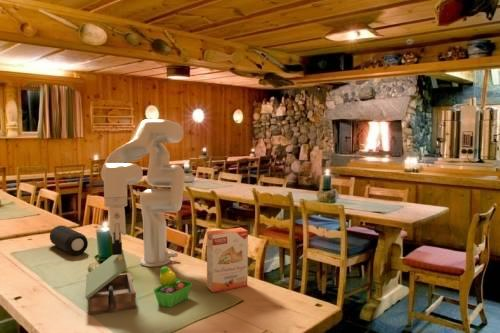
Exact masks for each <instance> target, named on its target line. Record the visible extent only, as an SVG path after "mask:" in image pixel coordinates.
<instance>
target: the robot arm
mask: <svg viewBox="0 0 500 333" xmlns="http://www.w3.org/2000/svg"><path fill="white" fill-rule="evenodd" d="M183 138H184V129H183V127H182V125H181V124H180V123H179V122H176V121H172V120H169V119H144V120H143V119H142V121H140V122H139V123H138V125H137V126H136V129H135V130H134V132H133V134H132V135H131V137H130V140H129V141H128V142H126V143H125V144H122V145H121V146H119V147H118V148H116V149H114V150H113V151H112V152H111V153H110V154H109V155H108V156H107V158H106V159H105V161H104V163H103V165H102V168H101V171H100V176H101V179H102V181H103V195H104V196H103V198H104V201H103V203H104V207H105V208H107V209H108V210H107V212H108V214H107V215H108V226H109V233H110V236H111V237H112V242H111V254H112V255H120V254H122V250H123V243H122V235H123V236H126V234H127V233H126V209H125V207H127V206H128V185H137V184H138V183H139V182H141V181H142V179H143V174H144V173H143V172H144V171H143V169H142V168H141V166H140V165H138V164H137V163H130V162H133V161H137V160H140V159H143V158H145V157H147V156H148V155H149V160H148V161H149V162H148V168H147V174H146V175H147V176H146V180H147V184H148V185H150V186H152V187H158V188H150V189H149V188H148V189H145V190H143V191H142V192H141V194H140V196H139V203H140V209H141V214H142V225H143V226H142V228H143V230H142V233H143V235H142V236H143V257H142V258H141V259H140V260H139V263H140V265H142V266H144V267H164V266H166V265H168V264H169V263H170V262H171V258H177V257H179V253H178V251H175V252H174V251H168V250H167V249H168V248H167V221H166V218H165V216H164V215H163V213H177V212H179V211H180V210H181V208H182V206H183V205H182V204H183V197H184V190H185V181H186V180H185V178H186V176H185V175H186V174H185V170H184V168H183V167H182V166H181V165H178V164H170V160H171V159H170V158H171V154H170V151H169V150H168V149H167V147H166V146H165V145H164V144H177V143H180V142H181V141H182V140H183ZM159 187H161V188H159ZM163 188H164V189H163ZM167 188H168V189H167ZM169 188H170V189H169ZM112 255H111V256H112Z"/></svg>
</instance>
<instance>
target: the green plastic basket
mask: <svg viewBox="0 0 500 333" xmlns="http://www.w3.org/2000/svg"><path fill="white" fill-rule="evenodd" d="M159 275H160V276H159V283H160V286H158V287H156V288H154V289H153V293H154V295H155V298H156V301H157V303H158V305H161V306H163V307H166V308H167V307H168V308H171V307H173V306H175V305H177V304H179V303H180V302H182V301H184V300H187V299H188V298H189V294H190V291H191V287H192V285H193V283H192V282H190V281H184V280H182V279H177V275H176V273H175V272H174V271H173V270H172V269H171V268H170V267H168V266H162V267H161V268H160V272H159Z"/></svg>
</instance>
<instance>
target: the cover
mask: <svg viewBox="0 0 500 333" xmlns="http://www.w3.org/2000/svg"><path fill="white" fill-rule="evenodd" d="M127 269H128V267H127V263H126V258H125V253H124V249H122V254H120V255H111V256H109V257H107V259H105V260H103V262H102V263H100V264H99V265H98V266H96V267H95V268H94V269H93V270H90V272H88V273H87V274H86V278H85V279H86V281H85V294H84V297H85V299H86V300H88V299H89V298H90V297H91V296H93V295H94V294H95V293H96V292H98V291H99V290H100V289H101V288H103V287H104V286H105V285H107V284H108V283H109V282H110V281H112V280H113V279H114V278H116V277H117V276H118V275H119V274H123V273H124V272H125V271H126V270H127Z"/></svg>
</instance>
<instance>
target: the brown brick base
mask: <svg viewBox="0 0 500 333" xmlns="http://www.w3.org/2000/svg"><path fill="white" fill-rule="evenodd" d="M109 284H112V285H113V295H114V305H115V308H114V309H113V310H111V309H110V301H109V287H108V286H109ZM136 294H137V291H136V289H135V287H134V281H133V276H132V275H131V272H126V273H125V272H123V273H121V274H119V275H118V276H117V277H116V278H114V279H113V280H112V281H110V282H109V283H108V284H107V285H105V286H104V287H103V288H101V289H100V290H99V291H98V292H96V293H95V294H94V295H93V296H91V297H90V298H89V299H87V308H88V309H87V310H88V316H93V315H99V314H104V313H105V314H106V313H111V312H112V313H113V312H118V311H125V310H132V309H136V297H137V296H136Z"/></svg>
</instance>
